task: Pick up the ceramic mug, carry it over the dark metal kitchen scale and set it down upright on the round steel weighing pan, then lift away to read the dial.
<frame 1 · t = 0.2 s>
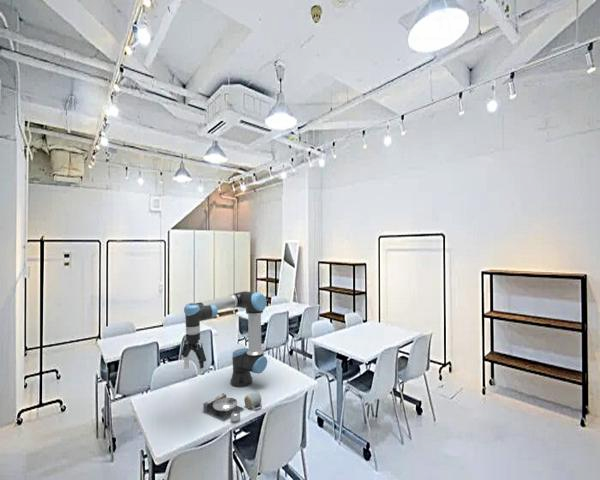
hand: (193, 370, 184), 28 cm above the table, fingers open, 13 cm apart
steel spacer: (235, 420, 183), on the table
ceramic mug: (254, 407, 198), on the table
scale base: (225, 411, 192), on the table
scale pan: (225, 405, 192), point 4 cm above the table, slide at 0.2 cm
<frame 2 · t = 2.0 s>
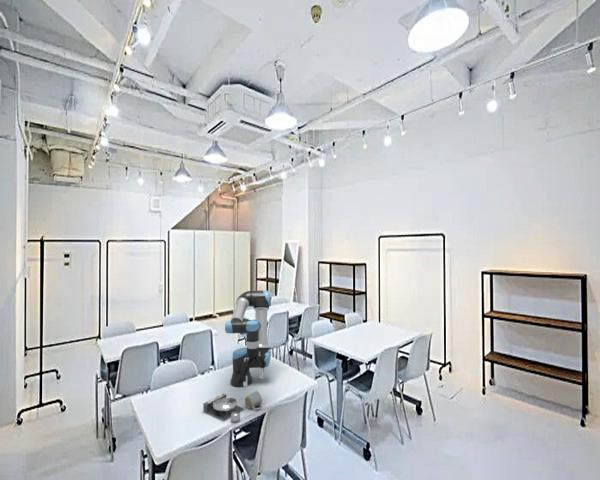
hand: (253, 382, 198), 15 cm above the table, fingers open, 13 cm apart
nothing on the table moved.
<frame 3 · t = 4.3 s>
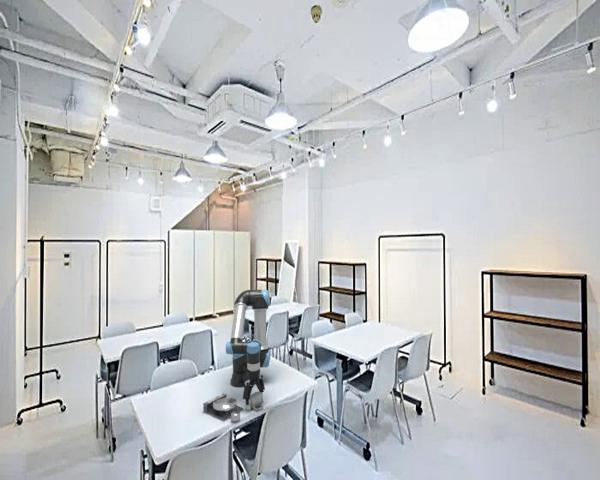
hand: (254, 406, 198), 0 cm above the table, fingers open, 9 cm apart
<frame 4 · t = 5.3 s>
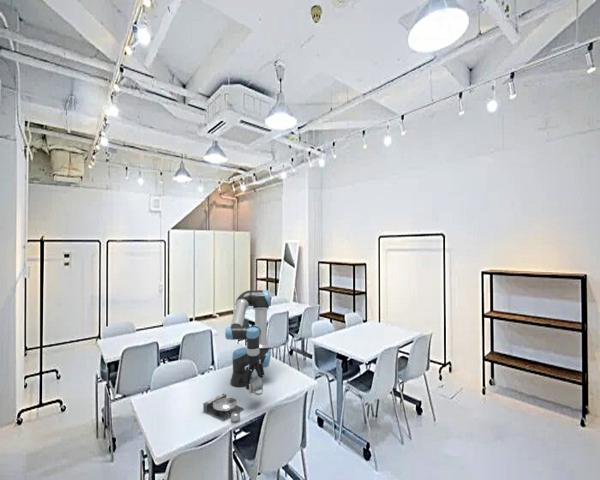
hand: (254, 390, 198), 9 cm above the table, fingers closed on ceramic mug, 9 cm apart
ceramic mug: (255, 392, 198), point 9 cm above the table, touching gripper
everything else where it was.
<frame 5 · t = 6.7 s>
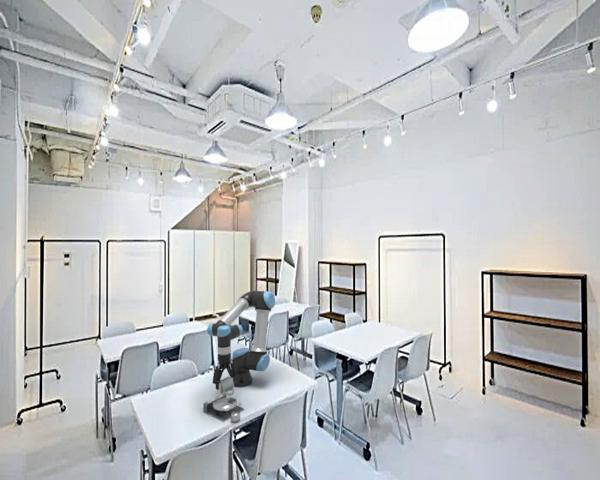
hand: (224, 391, 192), 12 cm above the table, fingers closed on ceramic mug, 9 cm apart
ceramic mug: (226, 392, 192), point 11 cm above the table, touching gripper
everything else where it was.
when the fingers open (6 cm above the table, at t = 8.4 s): ceramic mug drops 2 cm, resting on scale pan.
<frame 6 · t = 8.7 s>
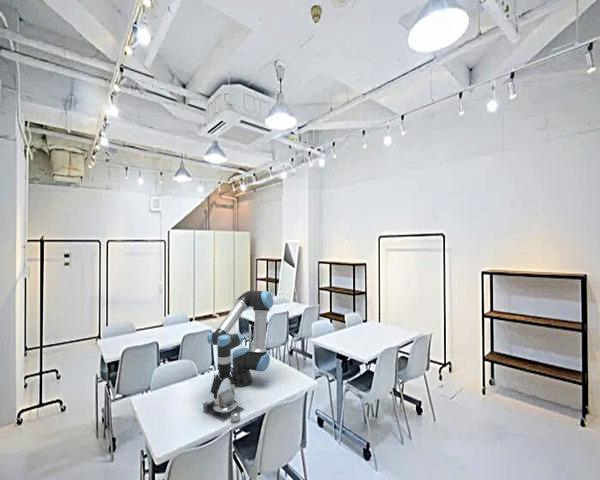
hand: (225, 399, 192), 7 cm above the table, fingers open, 11 cm apart
ceramic mug: (226, 405, 192), point 4 cm above the table, touching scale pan
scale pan: (225, 407, 192), point 3 cm above the table, slide at 1.0 cm, touching ceramic mug
everything else where it was.
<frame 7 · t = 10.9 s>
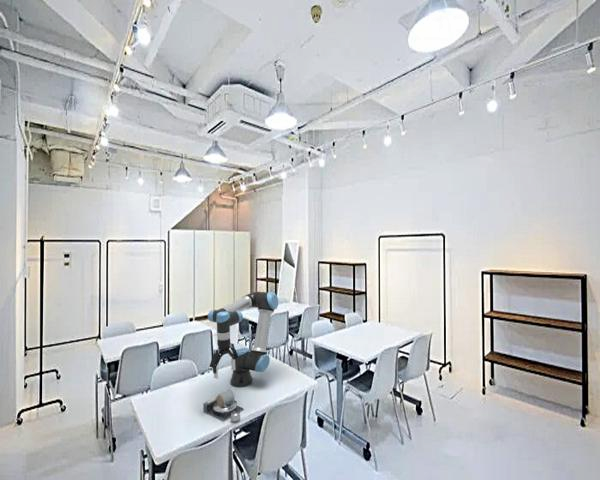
hand: (224, 373, 195), 21 cm above the table, fingers open, 13 cm apart
nothing on the table moved.
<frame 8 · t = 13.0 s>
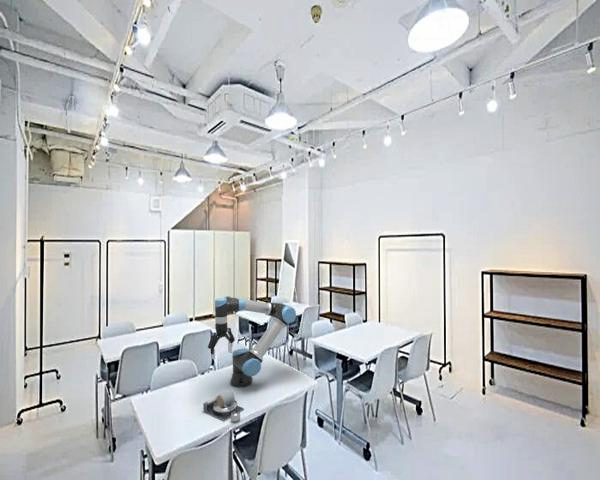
hand: (222, 355, 210), 27 cm above the table, fingers open, 13 cm apart
nothing on the table moved.
at the end: ceramic mug inside the target area on the scale base (1.8 cm from its centre), point 3.9 cm above the scale base's base; ceramic mug tilted 1°; the gripper is holding nothing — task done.
